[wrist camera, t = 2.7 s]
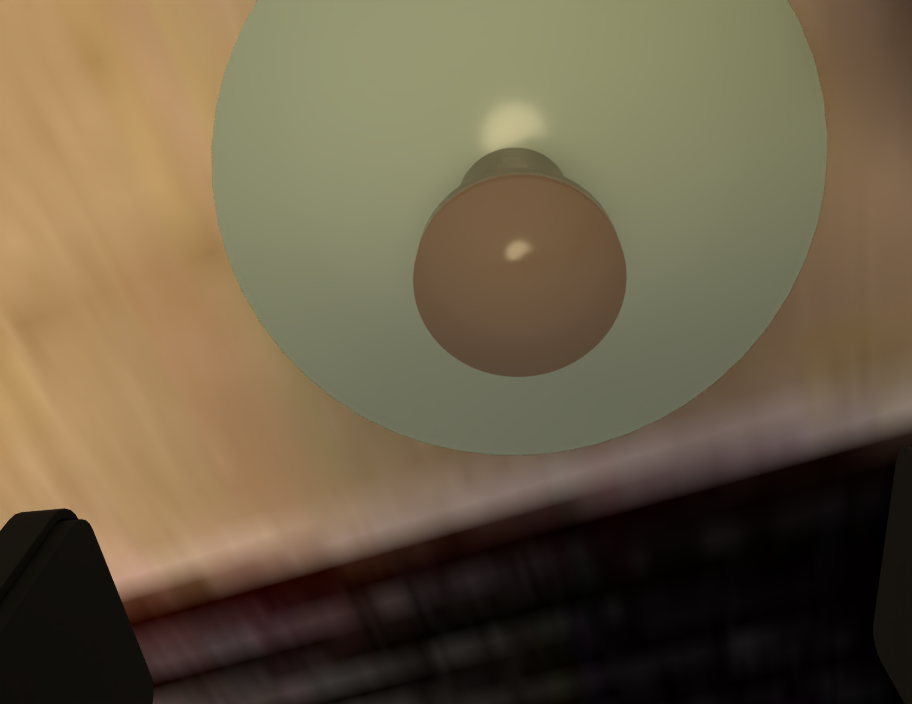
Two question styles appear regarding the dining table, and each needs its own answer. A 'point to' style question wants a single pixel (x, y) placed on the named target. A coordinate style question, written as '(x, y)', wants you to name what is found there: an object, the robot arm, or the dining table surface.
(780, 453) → the dining table surface
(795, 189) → the lid
